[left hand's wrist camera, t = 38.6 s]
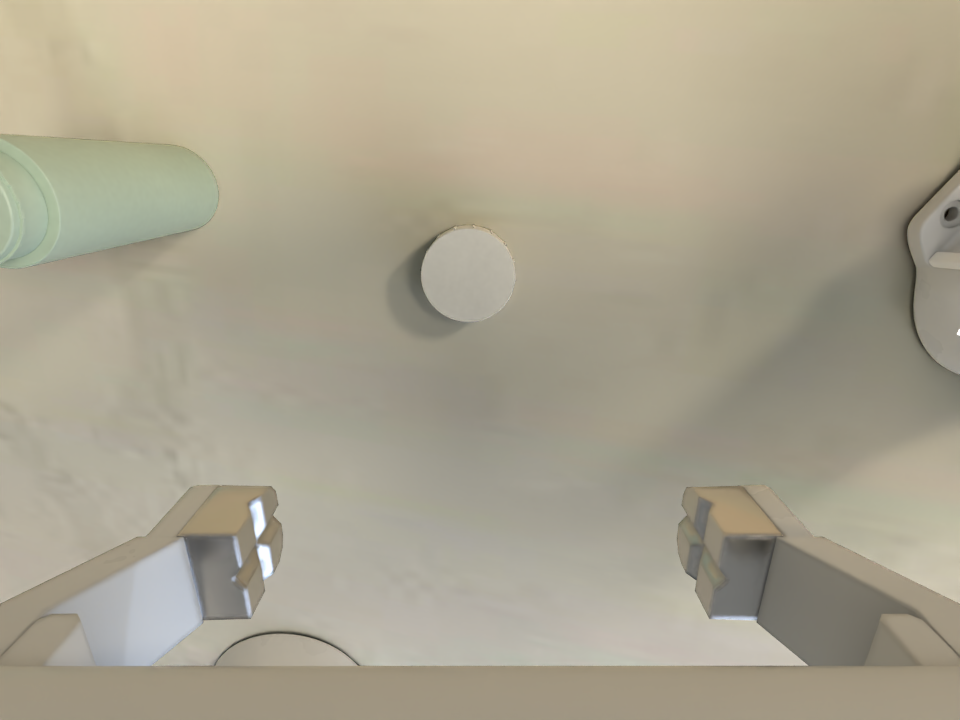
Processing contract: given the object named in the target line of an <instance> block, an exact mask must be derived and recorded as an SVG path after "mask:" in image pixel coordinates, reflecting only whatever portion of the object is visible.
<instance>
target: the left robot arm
mask: <svg viewBox="0 0 960 720" xmlns="http://www.w3.org/2000/svg"><path fill="white" fill-rule="evenodd" d="M947 209H949V213H948V215H947V217H946V218H944V214H945V212H946V210H947ZM907 240H908V245H909V249H910V252H911V255H912V258H913V260H914V263H915V266H916V284H915V292H914V303H913V311H914V321H915V326H916V330H917V333H918V336H919V338H920V340H921V342H922V344H923V346H924V348H925V349H926V351H927V352H928V353H929V354H930V356H931V357H932V358H933V359H934V360H935V361H936V362H938V363H939V364H940V365H942V366H943V367H945V368H946V369H948V370H950V371H952V372H954V373H956V374H959V375H960V170H959V171H958V172H957V173H956V174H955V175H954V176H953V177H952V178H951V179H950V180H949V181H948V182H947V183H946V184H945V185H944V186H943V187H942V188H941V189H940V190H939V191H938V192H937V193H936V194H935V195H934V196H933V197H932V198H931V199H930V200H929V202H928V203H927V204H926V205H925V206H924V207H923V208H922V209H921V210H920V211H919V212H918V213H917V214H916V215H915V216H914V217H913V219H912V220H911V222H910V223H909V226H908V229H907ZM277 507H278V500H277V495H276V491H275V490H274V489H273V488H272V487H271V486H233V485H222V486H220V485H197V486H193V487H191V488H190V489H189V490H188V491H187V492H186V493H185V494H184V495H183V496H182V497H181V498H180V500H179V501H178V502H177V503H176V504H175V505H174V506H173V507H172V508H171V509H170V511H169V512H168V513H167V514H166V515H165V516H164V517H163V518H162V519H161V520H160V522H159V523H158V524H157V525H156V526H155V527H154V528H153V529H152V530H151V532H150V533H149V534H148V535H147V536H146V537H136V538H134V539H132V540H130V541H128V542H126V543H124V544H122V545H120V546H118V547H116V548H114V549H111V550H109V551H107V552H105V553H103V554H101V555H99V556H97V557H95V558H93V559H91V560H89V561H87V562H85V563H83V564H81V565H79V566H77V567H75V568H73V569H71V570H68V571H66V572H64V573H62V574H60V575H58V576H56V577H54V578H52V579H50V580H48V581H46V582H44V583H42V584H40V585H38V586H36V587H34V588H32V589H30V590H28V591H25V592H23V593H21V594H19V595H17V596H15V597H13V598H11V599H9V600H7V601H5V602H3V603H1V604H0V720H960V604H959V603H957V602H955V601H953V600H951V599H948V598H946V597H944V596H942V595H940V594H938V593H936V592H934V591H932V590H930V589H928V588H926V587H924V586H922V585H920V584H918V583H916V582H914V581H912V580H910V579H908V578H906V577H904V576H902V575H899V574H897V573H895V572H893V571H891V570H889V569H887V568H885V567H883V566H881V565H879V564H877V563H875V562H873V561H871V560H869V559H867V558H865V557H863V556H861V555H859V554H857V553H855V552H853V551H850V550H848V549H846V548H844V547H842V546H840V545H838V544H836V543H834V542H832V541H830V540H828V539H826V538H824V537H814V536H813V535H812V534H811V533H810V532H809V530H808V529H807V528H806V527H805V526H804V525H803V524H802V523H801V522H800V520H799V519H798V518H797V517H796V516H795V515H794V514H793V513H792V512H791V511H790V509H789V508H788V507H787V506H786V505H785V504H784V503H783V502H782V501H781V500H780V498H779V497H778V496H777V495H776V494H775V493H774V492H773V491H772V490H771V489H770V488H769V487H767V486H765V485H743V486H716V487H687V488H686V490H685V492H684V494H683V500H682V507H683V508H684V510H685V512H686V513H687V516H686V517H685V518H684V519H683V520H682V521H681V522H680V523H679V525H678V533H677V545H678V554H679V557H680V561H681V564H682V566H683V568H684V570H685V572H686V573H687V574H688V575H690V576H691V577H692V578H694V579H695V580H697V581H696V587H695V592H696V594H697V596H698V598H699V600H700V602H701V603H702V605H703V607H704V609H705V611H706V613H707V615H708V617H709V619H735V620H757V623H758V624H759V625H760V626H762V627H763V628H764V629H765V630H766V631H768V632H769V633H770V634H771V635H772V636H774V637H775V638H776V639H777V640H778V641H780V642H781V643H782V644H783V645H785V646H786V647H787V648H788V649H789V650H791V651H792V652H793V653H794V654H795V655H797V656H798V657H799V658H800V659H801V660H803V661H804V662H805V663H806V664H807V665H809V666H152V665H153V664H154V663H155V662H156V661H158V660H159V659H160V658H161V657H162V656H164V655H165V654H166V653H167V652H168V651H170V650H171V649H172V648H173V647H174V646H176V645H177V644H178V643H179V642H181V641H182V640H183V639H184V638H185V637H187V636H188V635H189V634H190V633H191V632H193V631H194V630H195V629H196V628H197V627H199V626H200V625H201V624H202V623H203V620H224V619H251V617H252V615H253V613H254V611H255V609H256V607H257V605H258V604H259V602H260V600H261V598H262V596H263V594H264V592H265V587H264V581H263V580H265V579H266V578H268V577H269V576H270V575H272V574H273V573H274V572H275V570H276V568H277V566H278V564H279V561H280V557H281V552H282V548H283V532H282V525H281V523H280V522H279V521H278V520H277V519H276V518H275V517H274V516H273V513H274V512H275V510H276V508H277Z"/></svg>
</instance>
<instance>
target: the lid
mask: <svg viewBox="0 0 960 720" xmlns="http://www.w3.org/2000/svg"><path fill="white" fill-rule="evenodd" d="M474 225H475V224H473V225H463V226H457V227H456V226H454V228H451V229H449V230H447V231H445V232H444V233H442V234H441V235H440V234H439V235H438V237H437V239H436V240H435V241H434V242H433V243H432V245H431V246H430V248H428V249H427V250H426V252H425V253H426V255H425V257H424V260H423V263H422V268H421V270H420V271H421V282H422V287H423V290H424V293H425V295H426V297H427V299H428V300H429V302H430V303H431V305H432V306H433V307H434V308H435V309H436V310H437V311H438V312H440V313H441V314H443V315H444V316H446V317H448V318H450V319H453V320H456V321H460V322H476V321H481V320H484V319H487V318H489V317H491V316H493V315H494V314H496V313H497V312H498V311H500V310H501V309H502V308H503V307H504V306H505V304H506V303H507V302H508V300H509V299H510V296H511V294H512V292H513V289H514V285H515V282H516V279H515V266H514V263H515V261H514V259H513V258H512V256H511V254H510V251H509V249H508V248H507V245H506V242H503V241H502V239H501V238H500V237H498V236H497V235H496V234H495V233H493V232H492V230H488V229H486V228H483V227H479V226H474Z"/></svg>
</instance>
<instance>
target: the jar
mask: <svg viewBox="0 0 960 720" xmlns="http://www.w3.org/2000/svg"><path fill="white" fill-rule="evenodd" d="M218 199H219V193H218V186H217V182H216V179H215V177H214V175H213V173H212V171H211V169H210V168H209V167H208V165H207V164H206V163H205V162H204V161H203V160H202V159H201V158H200V157H199V156H198V155H196V154H195V153H194V152H192V151H190V150H188V149H186V148H184V147H180V146H176V145H166V144H150V143H135V142H119V141H104V140H88V139H73V138H57V137H42V136H26V135H11V134H0V267H1V268H8V269H19V268H26V267H30V266H35V265H39V264H44V263H48V262H53V261H57V260H61V259H66V258H70V257H75V256H79V255H84V254H88V253H92V252H97V251H101V250H106V249H110V248H115V247H119V246H123V245H128V244H132V243H137V242H141V241H146V240H150V239H154V238H159V237H163V236H168V235H172V234H177V233H181V232H185V231H190V230H194V229H197V228H200V227H202V226H203V225H205V224H206V223H207V222H208V221H210V219H211V218H212V217H213V215H214V213H215V211H216V209H217V205H218Z"/></svg>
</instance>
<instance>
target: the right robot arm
mask: <svg viewBox="0 0 960 720" xmlns="http://www.w3.org/2000/svg"><path fill="white" fill-rule="evenodd" d="M215 666H358V665H357V664H356V663H355V662H354V661H353V660H351V659H350V658H349V657H348V656H347V655H345V654H344V653H343V652H341V651H340V650H338V649H336V648H335V647H333V646H331V645H329V644H327V643H324V642H322V641H319V640H316V639H313V638H310V637H306V636H301V635H294V634H267V635H260V636H256V637H252V638H249V639H246V640H244V641H241V642H239V643H237V644H236V645H234V646H232V647H231V648H229V649H228V650H227V651H226V652H225V653H224V654H223V655H222V656H221V657H220V658H219V660H218V661H217V663H216V664H215Z"/></svg>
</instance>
